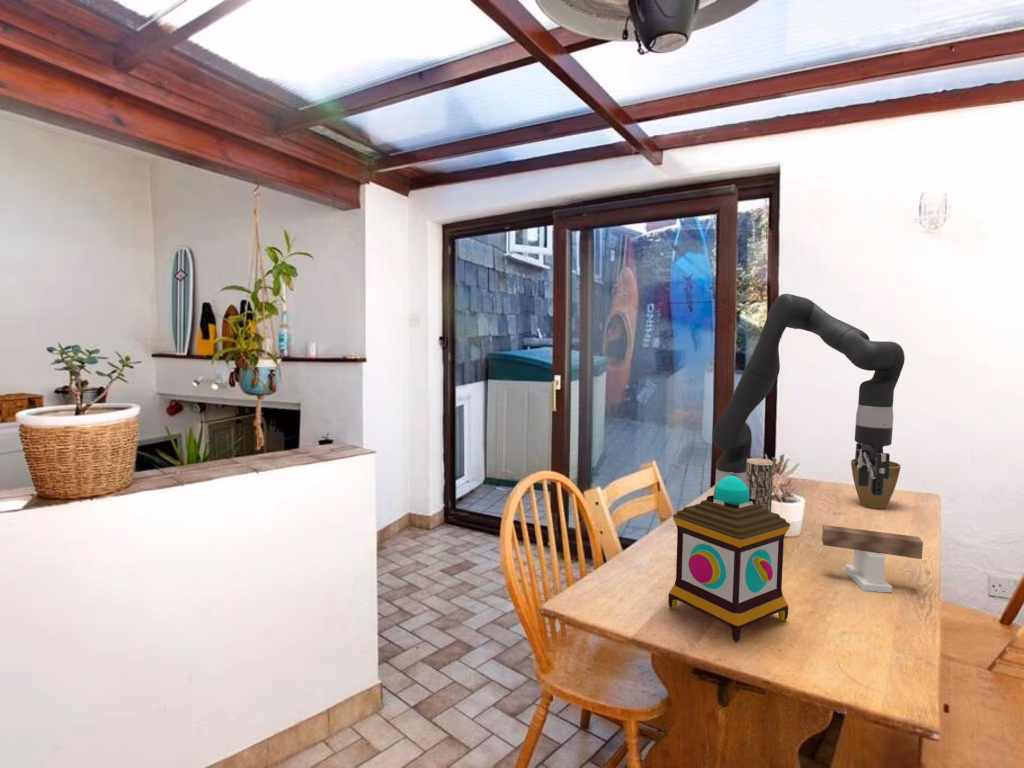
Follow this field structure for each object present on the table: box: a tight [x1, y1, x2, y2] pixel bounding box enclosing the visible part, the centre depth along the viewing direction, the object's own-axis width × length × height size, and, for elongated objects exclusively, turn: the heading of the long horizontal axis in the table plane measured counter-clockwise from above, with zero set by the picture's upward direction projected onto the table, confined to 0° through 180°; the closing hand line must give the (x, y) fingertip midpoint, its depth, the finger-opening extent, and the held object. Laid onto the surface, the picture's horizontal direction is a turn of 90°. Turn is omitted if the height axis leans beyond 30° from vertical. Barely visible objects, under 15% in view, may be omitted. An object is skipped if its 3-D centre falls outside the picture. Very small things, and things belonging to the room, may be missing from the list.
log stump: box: [746, 457, 774, 512], centre depth 156 cm, size 7×7×25 cm
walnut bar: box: [821, 524, 924, 560], centre depth 134 cm, size 20×4×4 cm, turn 65°
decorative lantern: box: [667, 476, 791, 643], centre depth 117 cm, size 20×20×30 cm
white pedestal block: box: [844, 550, 893, 593], centre depth 135 cm, size 6×12×8 cm, turn 167°
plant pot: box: [850, 458, 902, 510], centre depth 197 cm, size 15×15×16 cm
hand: (869, 490), depth 135 cm, fingers open, 8 cm apart
